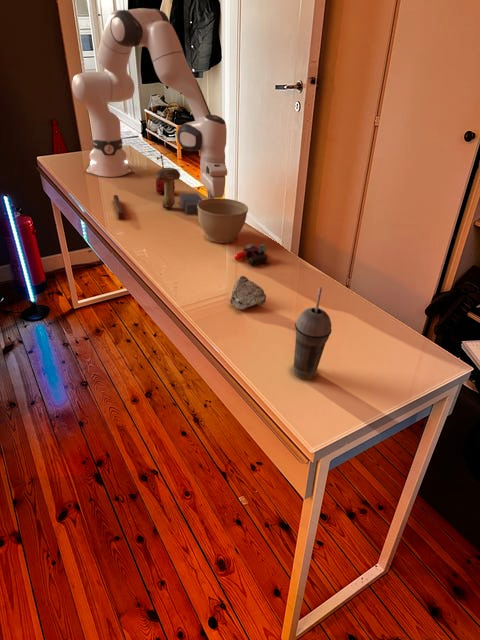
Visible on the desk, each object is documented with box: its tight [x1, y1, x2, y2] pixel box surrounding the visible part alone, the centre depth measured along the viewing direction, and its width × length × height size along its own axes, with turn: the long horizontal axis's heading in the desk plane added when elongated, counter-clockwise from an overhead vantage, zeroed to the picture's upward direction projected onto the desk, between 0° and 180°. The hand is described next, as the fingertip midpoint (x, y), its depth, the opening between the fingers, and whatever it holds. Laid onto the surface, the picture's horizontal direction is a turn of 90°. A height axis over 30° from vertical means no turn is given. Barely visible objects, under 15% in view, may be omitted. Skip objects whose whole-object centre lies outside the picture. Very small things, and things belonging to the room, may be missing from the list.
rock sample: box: [229, 275, 267, 310], centre depth 121 cm, size 10×8×9 cm
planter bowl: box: [197, 197, 249, 244], centre depth 154 cm, size 16×16×11 cm
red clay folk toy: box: [155, 152, 176, 196], centre depth 186 cm, size 8×7×15 cm
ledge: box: [112, 194, 124, 221], centre depth 169 cm, size 18×2×2 cm, turn 18°
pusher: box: [179, 193, 203, 215], centre depth 177 cm, size 12×7×4 cm, turn 18°
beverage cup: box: [293, 286, 332, 381], centre depth 95 cm, size 7×7×20 cm
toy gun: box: [233, 242, 269, 267], centre depth 144 cm, size 10×12×5 cm
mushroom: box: [155, 167, 181, 210], centre depth 171 cm, size 9×9×15 cm
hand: (210, 201), depth 179 cm, fingers closed
